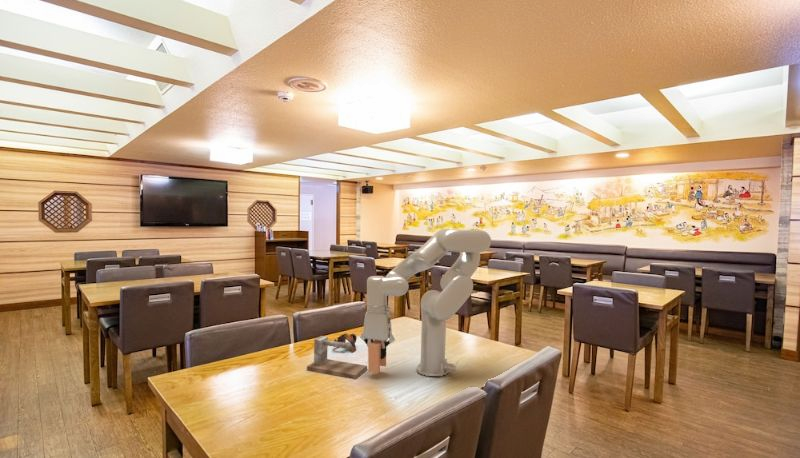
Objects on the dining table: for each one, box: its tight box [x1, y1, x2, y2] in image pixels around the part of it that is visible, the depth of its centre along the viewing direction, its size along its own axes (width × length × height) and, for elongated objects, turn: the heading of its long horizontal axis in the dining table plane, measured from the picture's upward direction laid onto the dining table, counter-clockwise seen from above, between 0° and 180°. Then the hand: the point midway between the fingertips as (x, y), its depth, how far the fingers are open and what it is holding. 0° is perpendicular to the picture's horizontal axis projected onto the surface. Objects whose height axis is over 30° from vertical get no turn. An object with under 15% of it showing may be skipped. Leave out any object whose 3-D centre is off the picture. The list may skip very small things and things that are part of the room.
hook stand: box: [306, 335, 368, 380], centre depth 149 cm, size 21×10×12 cm, turn 70°
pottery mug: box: [333, 333, 357, 353], centre depth 174 cm, size 12×10×8 cm
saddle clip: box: [367, 340, 387, 374], centre depth 145 cm, size 4×8×10 cm, turn 160°
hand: (377, 356), depth 145 cm, fingers closed on saddle clip, 4 cm apart
